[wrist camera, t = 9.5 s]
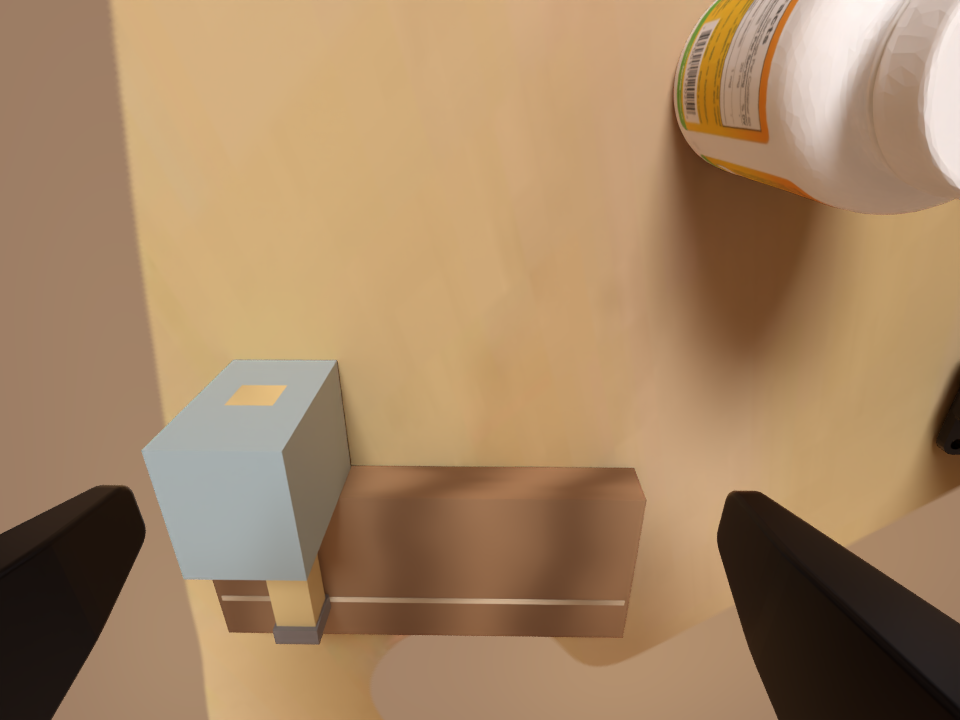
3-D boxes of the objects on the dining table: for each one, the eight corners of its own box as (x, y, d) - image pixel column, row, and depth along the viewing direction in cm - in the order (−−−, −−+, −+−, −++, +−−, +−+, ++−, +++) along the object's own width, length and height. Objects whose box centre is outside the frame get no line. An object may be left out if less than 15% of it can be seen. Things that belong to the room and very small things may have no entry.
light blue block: (336, 360, 21) (281, 451, 15) (364, 574, 25) (330, 702, 20) (233, 359, 21) (141, 450, 15) (280, 573, 25) (223, 700, 20)
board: (634, 468, 23) (646, 501, 21) (613, 600, 26) (622, 638, 24) (209, 464, 23) (185, 497, 21) (246, 595, 26) (228, 633, 25)
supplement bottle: (884, 92, 16) (1344, 91, 7) (723, 207, 18) (945, 317, 9) (808, -82, 14) (1296, -351, 6) (635, 63, 16) (809, 29, 7)
